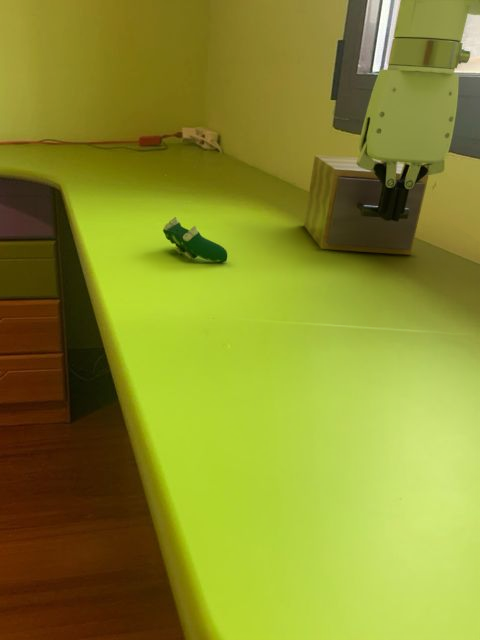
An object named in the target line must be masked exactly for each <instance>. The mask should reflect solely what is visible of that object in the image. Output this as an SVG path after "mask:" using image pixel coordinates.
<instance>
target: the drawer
mask: <svg viewBox="0 0 480 640" xmlns="http://www.w3.org/2000/svg"><path fill="white" fill-rule="evenodd" d="M397 181H398V180H396V184H397ZM424 188H425V184H424V183H422V182H417V183H415V184H414V186H413V187H412V188H411V189H409V193H408V197H407V202H406V206H405V211H404V213H403V214H400V218H399V221H393V220H390V221H385V220H384V219H383V218H381V217H380V212H378V204H379V199H380V195H381V190H382V184H381V183H380V180H379V179H372V178H357V177H342V176H340V177H338V180H337V186H336V192H335V197H334V203H333V209H332V215H331V221H330V226H329V232H328V238H327V243H328V244H331V245H345V246H360V247H375V248H390V249H405V250H410V248H411V244H412V240H413V235H414V231H415V227H416V222H417V218H418V214H419V209H420V205H421V201H422V196H423V192H424Z"/></svg>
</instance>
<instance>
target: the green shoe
mask: <svg viewBox="0 0 480 640" xmlns="http://www.w3.org/2000/svg"><path fill="white" fill-rule="evenodd" d="M197 228H198V227H197V226H195V225H194V226H192V227H191V228H190V229H188V228H185V227H183V226H182V225H181V223H180V221H179V220H178V217H176V216H174V217H173V218H172V219H170V220H169V221H168V223H165V225H164V227H163V229H162V232H163V234H164V235H165V238H166V239H167V241H169V242H170V243H171V244H173V245H175V247H174V250H175V251H176V252H177V253H178V254H182V253H184V256H185V257H186V258H188V259H189V260H192V259H196V258H197V257H198V258H200V259H202V260H203V259H204V260H206V261H210V262H215V263H225V262H227V261H228V252H227V249H226V248H224V247H223V246H222V245H220V244H219V243H216V242H214V241H212V240H209V239H208V238H206V237H204V236H203V235H201V233H200V232H199V231H198V229H197Z"/></svg>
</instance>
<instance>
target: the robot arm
mask: <svg viewBox="0 0 480 640" xmlns="http://www.w3.org/2000/svg"><path fill="white" fill-rule="evenodd" d="M399 1H400V3H399V6H398V12H397V17H396V22H395V23H396V24H395V26H394V31H393V32H394V33H393V39H392V43H391V47H390V48H391V49H390V54H389V59H388V63H387V69H382V68H381V69H379V71H378V74H377V77H376V79H375V82H374V85H373V88H372V91H371V95H370V98H369V101H368V105H367V107H366V111H365V116H364V120H363V124H362V128H361V133H360V138H359V144H358V145H359V146H358V149H359V152H360V153H359V155H358V157H357V158H358V160H357V165H358V166H359V167H361V168H363V169H366V170H369V171H372V172H374V173H375V175H376V176H377V177H378V179H379V180H380V183H381V184H382V190H381V195H380V199H379V204H378V212H380V217H381V218H383V219H384V220H385V221H390V220H393V221H399V218H400V214H403V213H404V211H405V206H406V202H407V197H408V193H409V189H411V188H412V187H413V186H414V184H415V183H417V182H418V181H419V180H420V179H421V178H423V177H424V176H425V175H429V176H431V175H437V174H441V173H443V172H444V171H445V160H446V158H447V156H448V154H449V151H450V147H451V144H452V139H453V133H454V129H455V122H456V117H457V109H458V100H459V99H458V98H459V86H460V85H459V83H460V81H459V80H460V77H459V76H460V74H456V73H455V69H458V66H459V65H461V64H467V63H469V61H470V58H471V51H470V49H464V48H463V42H462V41H463V36H464V33H465V32H464V31H465V27H466V22H467V17H468V15H471V16H480V0H399ZM373 159H376V160H381V163H379V162H376V161H374V160H373ZM397 162H400V163H403V164H404V165H403V168H402V171H401V174H400V177H399V179H398V181H397V184H396V168H397Z"/></svg>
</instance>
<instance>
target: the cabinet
mask: <svg viewBox="0 0 480 640" xmlns="http://www.w3.org/2000/svg"><path fill="white" fill-rule="evenodd" d="M358 158H359V157H350V156H349V157H347V156H333V155H319V154H318V155H317V154H315V155H314V156H313V165H312V170H311V177H310V183H309V190H308V196H307V202H306V210H305V215H304V223H303V227H304V228H305V229H306V231H307V232H308V233H309V235H310V237H312V239H313V240H314V241H315V243H316V244H317V245H318V247H319V248H320V249H321V250H334V251H348V252H361V253H362V252H363V253H377V254H391V255H406V256H410V255H411V253H412V250H413V246H414V241H415V237H416V232H417V228H418V224H419V220H420V215H421V211H422V206H423V203H424V198H425V193H426V189H427V186H428V185H427V184H428V180H429V176H430V175H425V176H424V177H423V178H421V179H420V180H419V181H418V182H422V183H424V184H425V188H424V192H423V196H422V201H421V205H420V209H419V214H418V218H417V222H416V227H415V231H414V235H413V240H412V244H411V248H410V250H405V249H390V248H375V247H360V246H345V245H331V244H328V243H327V238H328V232H329V226H330V221H331V215H332V209H333V203H334V197H335V192H336V186H337V180H338V177H340V176H342V177H357V178H372V179H378V177H377V176H376V175H375V173H374V172H372V171H369V170H366V169H363V168H361V167H359V166H358V165H357V160H358ZM372 159H373V158H372ZM373 160H374V161H376V162H379V163H381V160H376V159H373ZM403 165H404V163H403V162H397V168H396V180H398V179H399V177H400V174H401V171H402V168H403Z"/></svg>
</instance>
